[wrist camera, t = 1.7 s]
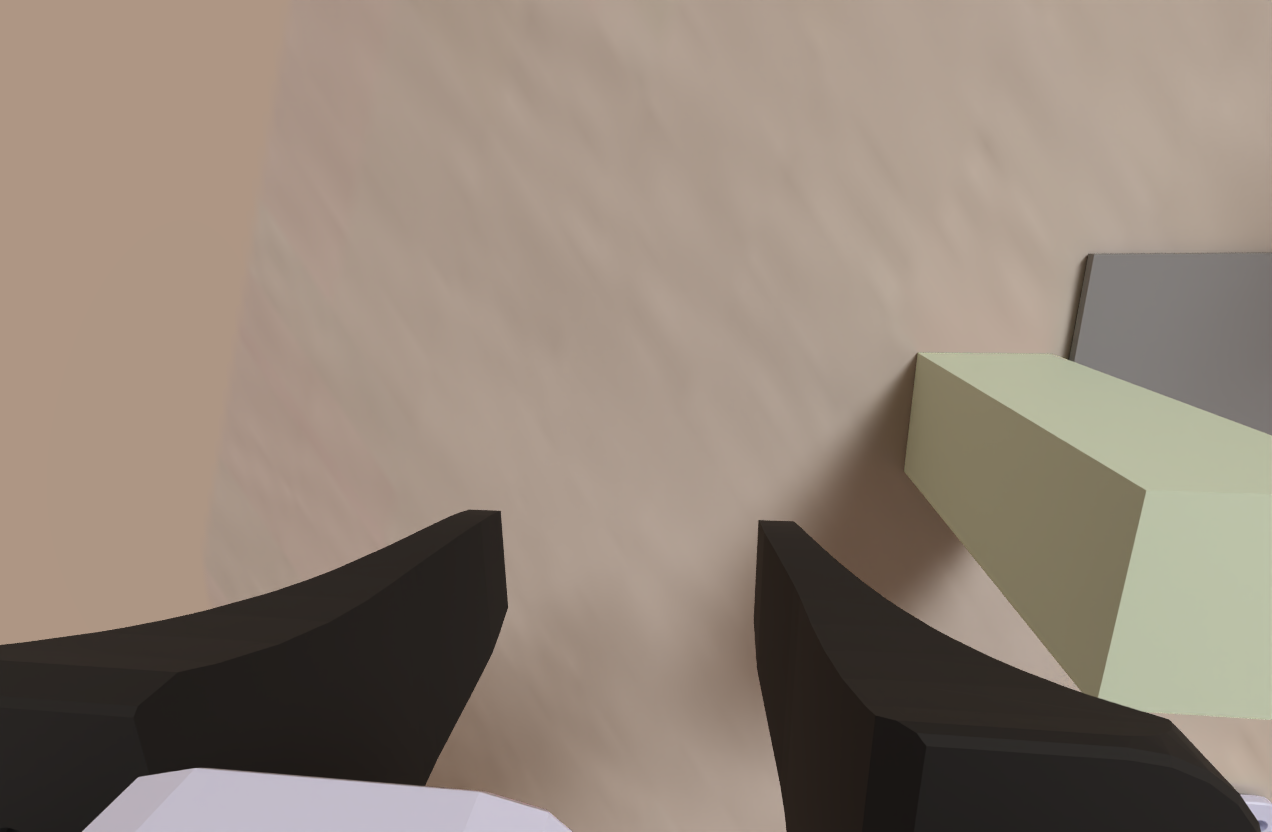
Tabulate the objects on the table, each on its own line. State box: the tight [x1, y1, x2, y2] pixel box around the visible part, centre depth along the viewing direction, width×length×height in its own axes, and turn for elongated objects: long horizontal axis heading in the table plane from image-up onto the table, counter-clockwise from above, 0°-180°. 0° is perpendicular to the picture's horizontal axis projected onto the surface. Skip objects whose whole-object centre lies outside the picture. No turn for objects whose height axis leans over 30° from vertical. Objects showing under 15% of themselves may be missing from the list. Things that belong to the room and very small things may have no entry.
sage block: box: [904, 353, 1272, 720], centre depth 15 cm, size 4×4×11 cm
